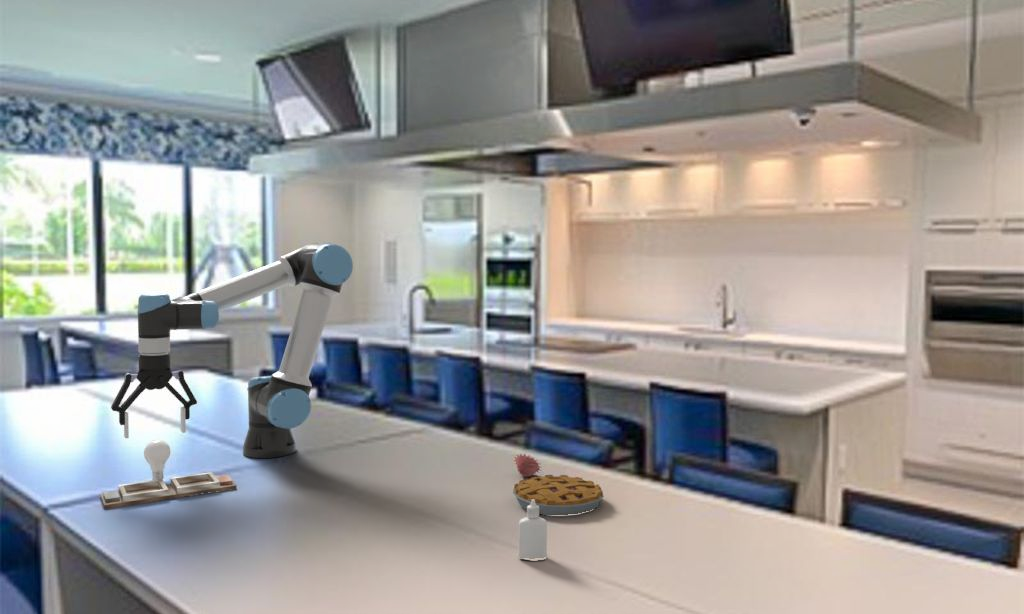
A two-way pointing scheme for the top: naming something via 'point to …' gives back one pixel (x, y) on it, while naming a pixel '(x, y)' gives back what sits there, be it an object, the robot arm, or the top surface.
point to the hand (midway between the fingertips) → (155, 434)
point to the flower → (527, 465)
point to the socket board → (165, 489)
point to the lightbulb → (157, 457)
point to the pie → (558, 494)
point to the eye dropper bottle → (532, 534)
